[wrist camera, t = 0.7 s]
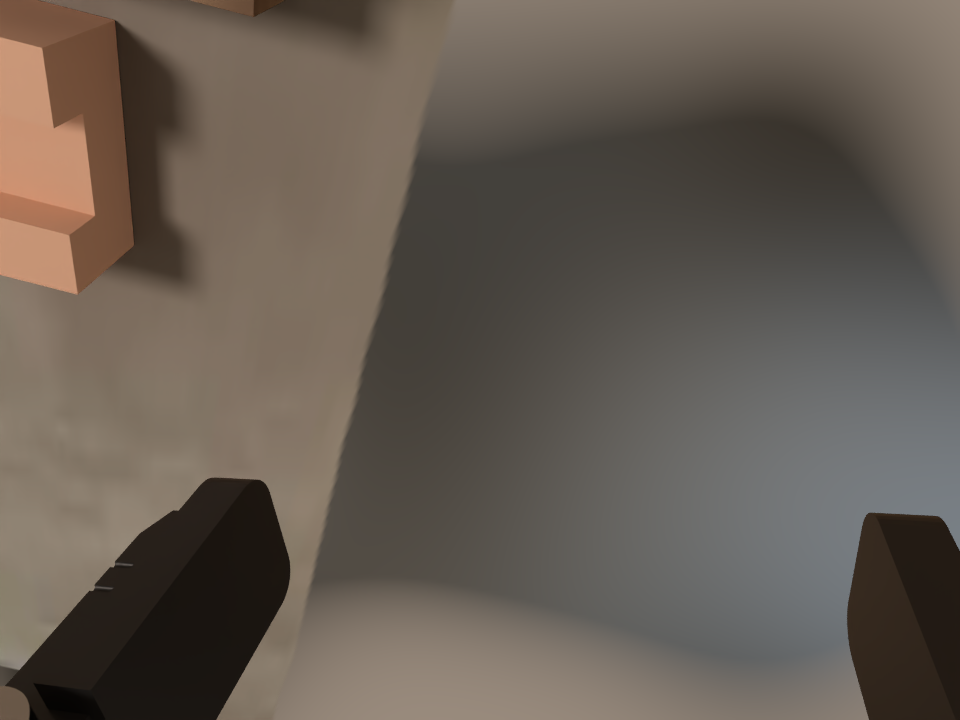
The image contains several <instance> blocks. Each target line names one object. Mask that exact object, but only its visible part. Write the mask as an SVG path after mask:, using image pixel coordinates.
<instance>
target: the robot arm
mask: <svg viewBox="0 0 960 720" xmlns="http://www.w3.org/2000/svg"><path fill="white" fill-rule="evenodd" d="M289 580H290V561H289V556H288V553H287V549H286V546H285V543H284V539H283V536H282V532H281V529H280V526H279V522H278V519H277V515H276V512H275V509H274V505H273V502H272V498H271V495H270V492H269V489H268V487H267V486H266V484H265V483H264V482H262V481H261V480H252V479H233V478H209V479H207V480H206V481H204V482H203V483H202V484H201V485H200V486H199V487H198V489H197V490H196V491H195V492H194V493H193V495H192V496H191V497H190V498H189V499H188V500H187V502H186V503H185V504H184V505H183V506H182V508H181V509H180V510H179V511H172V512H170V513H169V514H167V515H166V516H165V517H163V518H162V519H160V520H159V521H157V522H156V523H154V524H153V525H151V526H150V527H149V528H147V529H146V530H144V531H143V532H141V533H140V534H139V535H138V536H137V537H136V538H135V540H134V541H133V542H132V543H131V544H130V545H129V546H128V547H127V549H126V550H125V551H124V552H123V553H122V554H121V555H120V557H119V558H118V559H117V560H116V561H115V566H114V568H113V567H110V568H109V569H108V570H107V571H106V572H105V574H104V575H103V576H102V577H101V578H100V579H99V580H98V582H97V583H96V584H95V589H94V591H89V592H88V593H87V594H86V595H85V596H84V597H83V599H82V600H81V601H80V602H79V603H78V604H77V605H76V606H75V608H74V609H73V610H72V611H71V612H70V613H69V614H68V616H67V617H66V618H65V619H64V620H63V621H62V622H61V624H60V625H59V626H58V627H57V628H56V629H55V630H54V631H53V633H52V634H51V635H50V636H49V637H48V638H47V639H46V641H45V642H44V643H43V644H42V645H41V646H40V647H39V649H38V650H37V651H36V652H35V653H34V654H33V655H32V656H31V658H30V659H29V660H28V661H27V662H26V663H25V664H24V666H23V667H22V668H21V669H20V670H19V671H18V672H17V673H16V675H15V676H14V677H13V678H12V679H11V680H10V681H9V682H8V683H7V684H6V685H5V686H0V720H216V719H217V717H218V715H219V714H220V712H221V710H222V708H223V707H224V705H225V703H226V701H227V700H228V698H229V696H230V694H231V693H232V691H233V689H234V687H235V686H236V684H237V682H238V680H239V679H240V677H241V675H242V673H243V672H244V670H245V668H246V666H247V665H248V663H249V661H250V659H251V657H252V656H253V654H254V652H255V650H256V649H257V647H258V645H259V643H260V642H261V640H262V638H263V636H264V635H265V633H266V631H267V629H268V628H269V626H270V624H271V622H272V621H273V619H274V617H275V615H276V614H277V612H278V610H279V608H280V607H281V605H282V603H283V601H284V599H285V596H286V593H287V590H288V585H289ZM847 627H848V639H849V646H850V651H851V656H852V660H853V663H854V667H855V671H856V674H857V678H858V682H859V685H860V689H861V692H862V696H863V699H864V703H865V707H866V710H867V714H868V717H869V720H960V551H959V549H958V547H957V545H956V543H955V541H954V539H953V537H952V535H951V533H950V531H949V529H948V527H947V525H946V524H945V522H944V521H943V520H942V519H941V518H940V517H938V516H925V515H905V514H885V513H868V514H867V515H866V517H865V519H864V522H863V526H862V531H861V536H860V541H859V547H858V552H857V558H856V563H855V569H854V574H853V580H852V585H851V590H850V596H849V602H848V611H847Z"/></svg>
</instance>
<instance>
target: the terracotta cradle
mask: <svg viewBox="0 0 960 720" xmlns="http://www.w3.org/2000/svg"><path fill="white" fill-rule="evenodd" d="M133 246H134V237H133V226H132V214H131V202H130V191H129V179H128V167H127V156H126V144H125V132H124V121H123V109H122V97H121V86H120V74H119V63H118V51H117V39H116V28H115V20H112V19H108V18H104V17H100V16H97V15H93V14H89V13H85V12H81V11H77V10H73V9H70V8H66V7H62V6H58V5H54V4H50V3H46V2H43V1H39V0H0V275H3V276H7V277H11V278H15V279H19V280H23V281H27V282H31V283H35V284H39V285H42V286H46V287H50V288H54V289H58V290H62V291H66V292H70V293H74V294H79V293H80V292H81V291H82V290H84V289H85V288H86V287H87V286H88V285H89V284H90V283H92V282H93V281H94V280H95V279H96V278H97V277H98V276H100V275H101V274H102V273H103V272H104V271H105V270H106V269H108V268H109V267H110V266H111V265H112V264H113V263H115V262H116V261H117V260H118V259H119V258H120V257H121V256H123V255H124V254H125V253H126V252H127V251H128V250H129V249H131V248H132V247H133Z"/></svg>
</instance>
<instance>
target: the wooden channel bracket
mask: <svg viewBox="0 0 960 720" xmlns="http://www.w3.org/2000/svg"><path fill="white" fill-rule="evenodd" d="M190 1H194V2H198V3H202V4H206V5H209V6H213V7H217V8H221V9H225V10H229V11H233V12H236V13H240V14H244V15H248V16H252V17H254V16H256V15H258V14H260V13H262V12H264V11H266V10H268V9H270V8H272V7H273V6H275V5H277V4H279V3H281V2H283V1H285V0H190Z"/></svg>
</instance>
